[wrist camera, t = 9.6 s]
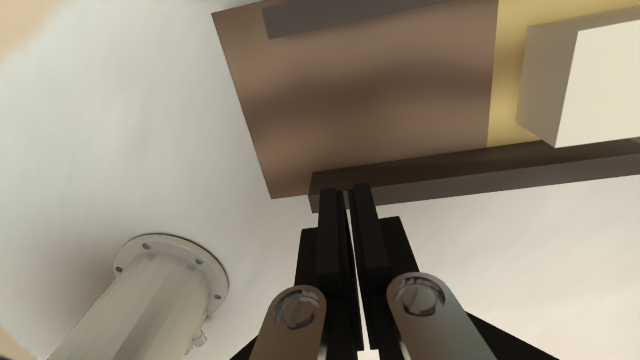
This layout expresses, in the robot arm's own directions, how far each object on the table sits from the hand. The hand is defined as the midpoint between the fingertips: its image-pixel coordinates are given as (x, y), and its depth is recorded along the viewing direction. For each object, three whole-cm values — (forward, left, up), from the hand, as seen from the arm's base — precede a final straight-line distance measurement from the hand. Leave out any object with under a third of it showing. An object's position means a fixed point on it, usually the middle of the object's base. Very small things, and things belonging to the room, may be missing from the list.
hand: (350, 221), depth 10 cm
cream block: (0, -14, -13) cm, 19 cm away
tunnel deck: (+1, -10, -15) cm, 18 cm away
